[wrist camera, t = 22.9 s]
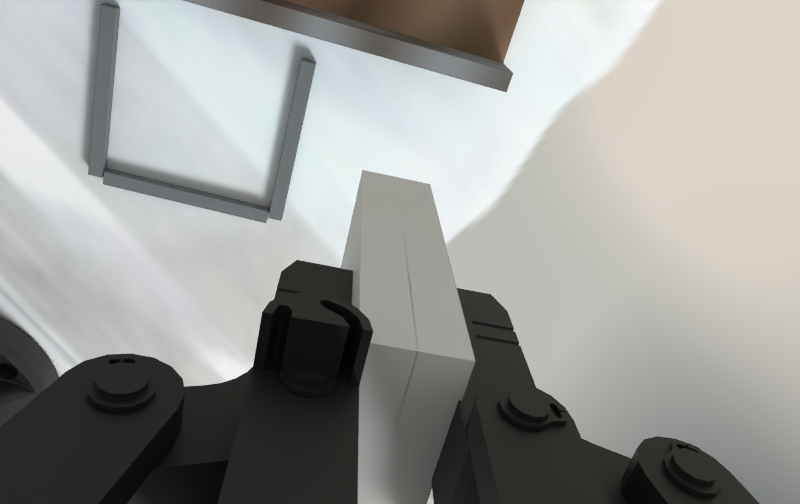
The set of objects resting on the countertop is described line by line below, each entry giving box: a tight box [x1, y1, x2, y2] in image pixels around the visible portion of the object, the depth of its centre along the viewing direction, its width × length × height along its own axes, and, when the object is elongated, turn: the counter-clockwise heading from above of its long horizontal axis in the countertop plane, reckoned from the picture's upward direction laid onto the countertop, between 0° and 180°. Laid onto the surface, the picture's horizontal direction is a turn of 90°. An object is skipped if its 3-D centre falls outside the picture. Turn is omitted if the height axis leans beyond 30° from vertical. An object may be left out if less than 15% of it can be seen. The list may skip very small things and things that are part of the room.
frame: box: [88, 4, 316, 223], centre depth 38 cm, size 12×10×1 cm
